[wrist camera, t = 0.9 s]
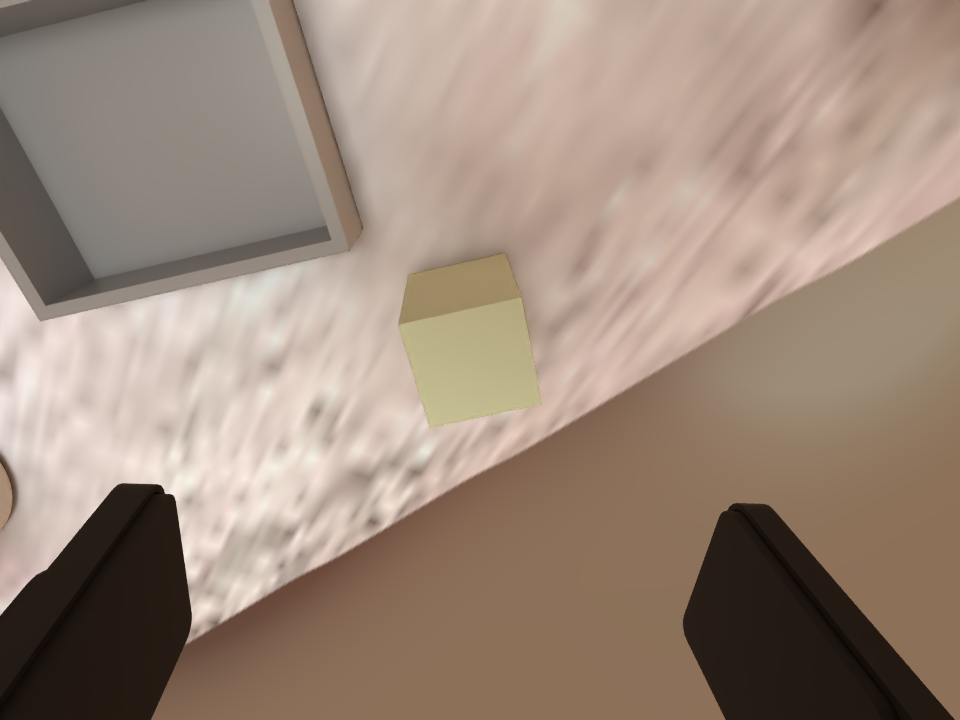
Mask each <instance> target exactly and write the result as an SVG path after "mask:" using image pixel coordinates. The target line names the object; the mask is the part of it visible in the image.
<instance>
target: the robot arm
mask: <svg viewBox="0 0 960 720" xmlns="http://www.w3.org/2000/svg"><path fill="white" fill-rule="evenodd" d="M191 621H192V612H191V605H190V598H189V591H188V584H187V577H186V570H185V563H184V556H183V549H182V542H181V535H180V528H179V521H178V514H177V507H176V501H175V497H174V496H173V495H171V494H165V492H164V489H163V488H162V486H161V485H158V484H127V483H122V484H119V485H117V486H116V487H115V488H114V489H113V490H112V491H111V492H110V493H109V495H108V496H107V497H106V498H105V500H104V501H103V502H102V503H101V504H100V506H99V507H98V508H97V509H96V510H95V512H94V513H93V514H92V515H91V517H90V518H89V519H88V520H87V521H86V523H85V524H84V525H83V526H82V528H81V529H80V530H79V531H78V532H77V534H76V535H75V536H74V537H73V538H72V540H71V541H70V542H69V543H68V545H67V546H66V547H65V548H64V549H63V551H62V552H61V553H60V554H59V556H58V557H57V558H56V559H55V560H54V562H53V563H52V564H51V565H50V567H49V568H48V569H47V570H45V571H43V572H41V573H39V574H37V575H36V576H35V577H34V578H33V579H32V580H31V581H30V582H29V583H28V584H27V585H26V586H25V587H24V588H23V589H22V591H21V592H20V593H19V594H18V595H17V597H16V598H15V599H14V600H13V601H12V603H11V604H10V605H9V606H8V607H7V608H6V610H5V611H4V612H3V613H2V614H1V616H0V720H151V718H152V716H153V714H154V712H155V709H156V707H157V705H158V703H159V701H160V698H161V696H162V694H163V692H164V689H165V687H166V685H167V683H168V681H169V678H170V676H171V674H172V672H173V670H174V667H175V665H176V663H177V661H178V658H179V656H180V653H181V652H182V650H183V647H184V645H185V643H186V641H187V638H188V635H189V632H190V628H191ZM683 628H684V633H685V637H686V639H687V641H688V644H689V646H690V647H691V650H692V651H693V654H694V656H695V658H696V660H697V662H698V664H699V666H700V668H701V670H702V672H703V674H704V676H705V678H706V680H707V682H708V685H709V686H710V689H711V691H712V693H713V695H714V697H715V699H716V701H717V703H718V705H719V707H720V709H721V711H722V713H723V715H724V717H725V719H726V720H954V718H953V717H952V716H951V715H950V714H949V713H948V711H947V710H946V709H945V708H944V707H943V706H942V704H941V703H940V702H939V701H938V700H937V699H936V697H935V696H934V695H933V694H932V693H931V692H930V691H929V689H928V688H927V687H926V686H925V685H924V684H923V682H922V681H921V680H920V679H919V678H918V677H917V675H916V674H915V673H914V672H913V671H912V670H911V669H910V667H909V666H908V665H907V664H906V663H905V662H904V660H903V659H902V658H901V657H900V656H899V655H898V653H897V652H896V651H895V650H894V649H893V648H892V646H891V645H890V644H889V643H888V642H887V641H886V640H885V638H884V637H883V636H882V635H881V634H880V633H879V631H878V630H877V629H876V628H875V627H874V626H873V624H872V623H871V622H870V621H869V620H868V619H867V618H866V616H865V615H864V614H863V613H862V612H861V611H860V610H859V608H858V607H857V606H856V605H855V604H854V603H853V601H852V600H851V599H850V598H849V597H848V596H847V594H846V593H845V592H844V591H843V590H842V589H841V587H839V585H838V584H837V583H836V582H835V581H834V579H833V578H832V577H831V576H830V575H829V574H828V572H827V571H826V570H825V569H824V568H823V567H822V565H821V564H820V563H819V562H818V561H817V560H816V558H815V557H814V556H813V555H812V554H811V553H810V552H809V550H808V549H807V548H806V547H805V546H804V544H803V543H802V542H801V541H800V540H799V539H798V538H797V536H796V535H795V534H794V533H793V532H792V531H791V530H790V528H789V527H788V526H787V525H786V524H785V522H784V521H783V520H782V519H781V518H780V517H779V515H778V514H777V513H776V512H775V511H774V510H773V509H772V508H771V507H770V506H768V505H765V504H747V503H746V504H745V503H735V504H732V505H731V506H730V507H729V509H728V510H727V511H724V512H723V513H721V515H720V517H719V519H718V522H717V525H716V528H715V530H714V533H713V536H712V539H711V542H710V544H709V547H708V550H707V553H706V556H705V558H704V561H703V564H702V567H701V570H700V573H699V575H698V578H697V581H696V584H695V586H694V589H693V592H692V595H691V597H690V600H689V603H688V606H687V609H686V612H685V614H684V618H683Z"/></svg>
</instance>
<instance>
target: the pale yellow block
mask: <svg viewBox="0 0 960 720" xmlns="http://www.w3.org/2000/svg"><path fill="white" fill-rule="evenodd" d="M398 325H399V328H400V332H401V335H402V338H403V342H404V345H405V348H406V351H407V355H408V358H409V361H410V365H411V368H412V371H413V375H414V378H415V381H416V384H417V388H418V391H419V394H420V398H421V401H422V404H423V407H424V411H425V414H426V417H427V421H428V424H429V427H430V428H431V427H436V426H440V425H445V424H450V423H454V422H459V421H464V420H469V419H473V418H478V417H483V416H487V415H492V414H497V413H501V412H506V411H511V410H515V409H520V408H525V407H530V406H534V405H539V404H542V403H541V397H540V392H539V387H538V382H537V376H536V371H535V366H534V361H533V355H532V350H531V345H530V339H529V334H528V329H527V324H526V318H525V313H524V308H523V303H522V297H521V295H520V292H519V289H518V287H517V284H516V281H515V279H514V276H513V273H512V271H511V268H510V265H509V262H508V260H507V257H506V254H505V253H503V254H498V255H494V256H489V257H485V258H481V259H476V260H472V261H467V262H463V263H458V264H454V265H449V266H445V267H441V268H436V269H432V270H427V271H423V272H418V273H414V274H410V275H408V279H407V284H406V289H405V294H404V299H403V304H402V309H401V314H400V319H399V324H398Z"/></svg>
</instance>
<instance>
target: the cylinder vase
mask: <svg viewBox="0 0 960 720" xmlns="http://www.w3.org/2000/svg"><path fill="white" fill-rule="evenodd" d="M11 508H12V489H11V484H10V481H9V478H8V476H7V473H6V471H5V469H4V468H3V466H2V464H1V463H0V530H1V529H2V528H3V527H4V525H5V523H6V522H7V520H8V518H9V515H10V512H11Z"/></svg>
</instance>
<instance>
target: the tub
mask: <svg viewBox="0 0 960 720" xmlns="http://www.w3.org/2000/svg"><path fill="white" fill-rule="evenodd" d="M362 229H363V227H362V223H361V220H360V217H359V214H358V210H357V207H356V204H355V201H354V197H353V194H352V191H351V188H350V184H349V181H348V178H347V175H346V171H345V168H344V165H343V162H342V158H341V155H340V152H339V149H338V145H337V142H336V139H335V136H334V133H333V129H332V126H331V123H330V120H329V116H328V113H327V110H326V107H325V103H324V100H323V97H322V94H321V90H320V87H319V84H318V81H317V77H316V74H315V71H314V68H313V64H312V61H311V58H310V55H309V51H308V48H307V45H306V42H305V38H304V35H303V32H302V29H301V25H300V22H299V19H298V16H297V12H296V9H295V6H294V3H293V0H0V257H1V259H2V260H3V262H4V264H5V265H6V267H7V269H8V270H9V272H10V273H11V275H12V277H13V278H14V280H15V282H16V283H17V285H18V286H19V288H20V290H21V291H22V293H23V294H24V296H25V298H26V299H27V301H28V303H29V304H30V306H31V307H32V309H33V311H34V312H35V314H36V316H37V317H38V319H39V320H40V321H44V320H48V319H53V318H57V317H62V316H66V315H70V314H75V313H79V312H83V311H88V310H92V309H97V308H101V307H105V306H110V305H114V304H119V303H123V302H127V301H132V300H136V299H140V298H145V297H149V296H154V295H158V294H162V293H167V292H171V291H175V290H180V289H184V288H189V287H193V286H197V285H202V284H206V283H211V282H215V281H219V280H224V279H228V278H232V277H237V276H241V275H246V274H250V273H254V272H259V271H263V270H268V269H272V268H276V267H281V266H285V265H289V264H294V263H298V262H303V261H307V260H311V259H316V258H320V257H325V256H329V255H333V254H338V253H342V252H346V251H350V250H351V248H352V246H353V244H354V243H355V241H356V239H357V238H358V236H359V234H360V233H361V231H362Z"/></svg>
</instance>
